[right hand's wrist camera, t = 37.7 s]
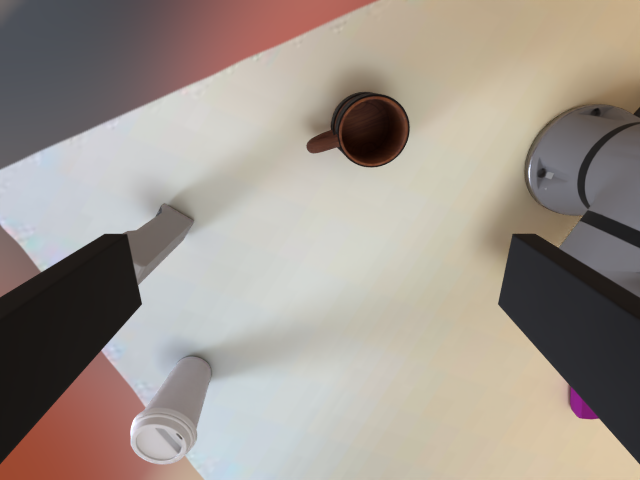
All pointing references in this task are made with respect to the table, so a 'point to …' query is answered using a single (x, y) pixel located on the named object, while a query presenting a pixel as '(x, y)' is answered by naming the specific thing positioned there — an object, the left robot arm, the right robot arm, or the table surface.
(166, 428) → the coffee cup
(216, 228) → the table surface
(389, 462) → the table surface
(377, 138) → the mug
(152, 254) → the vintage mobile phone
